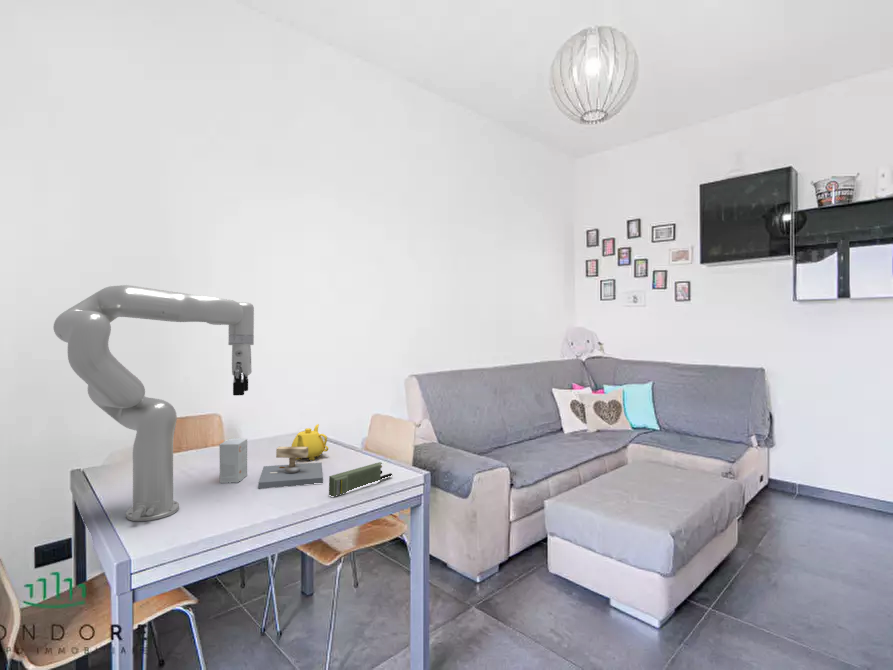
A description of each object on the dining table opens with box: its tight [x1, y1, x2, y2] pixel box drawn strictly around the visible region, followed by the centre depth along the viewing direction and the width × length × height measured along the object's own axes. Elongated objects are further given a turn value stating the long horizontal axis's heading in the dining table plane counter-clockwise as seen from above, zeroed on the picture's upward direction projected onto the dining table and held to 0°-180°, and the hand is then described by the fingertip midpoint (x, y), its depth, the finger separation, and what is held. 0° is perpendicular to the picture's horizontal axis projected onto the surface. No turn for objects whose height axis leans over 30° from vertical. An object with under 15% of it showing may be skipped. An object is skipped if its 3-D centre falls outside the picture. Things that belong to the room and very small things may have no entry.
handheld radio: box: [328, 461, 393, 496], centre depth 153 cm, size 7×3×25 cm
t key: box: [275, 446, 308, 473], centre depth 162 cm, size 10×5×8 cm, turn 91°
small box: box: [219, 438, 248, 484], centre depth 159 cm, size 8×6×13 cm
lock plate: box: [257, 462, 324, 489], centre depth 162 cm, size 18×20×2 cm
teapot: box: [290, 423, 329, 461], centre depth 186 cm, size 20×15×12 cm
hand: (240, 393), depth 153 cm, fingers open, 9 cm apart
